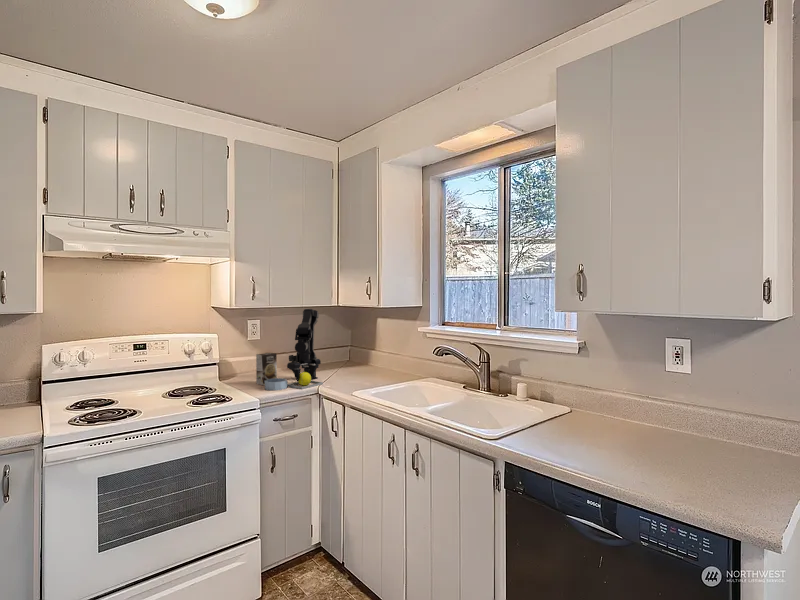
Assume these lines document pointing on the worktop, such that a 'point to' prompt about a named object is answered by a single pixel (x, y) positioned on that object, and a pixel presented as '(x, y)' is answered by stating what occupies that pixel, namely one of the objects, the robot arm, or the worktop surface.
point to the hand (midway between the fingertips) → (304, 379)
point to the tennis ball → (304, 378)
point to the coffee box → (266, 367)
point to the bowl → (276, 384)
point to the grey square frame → (304, 386)
